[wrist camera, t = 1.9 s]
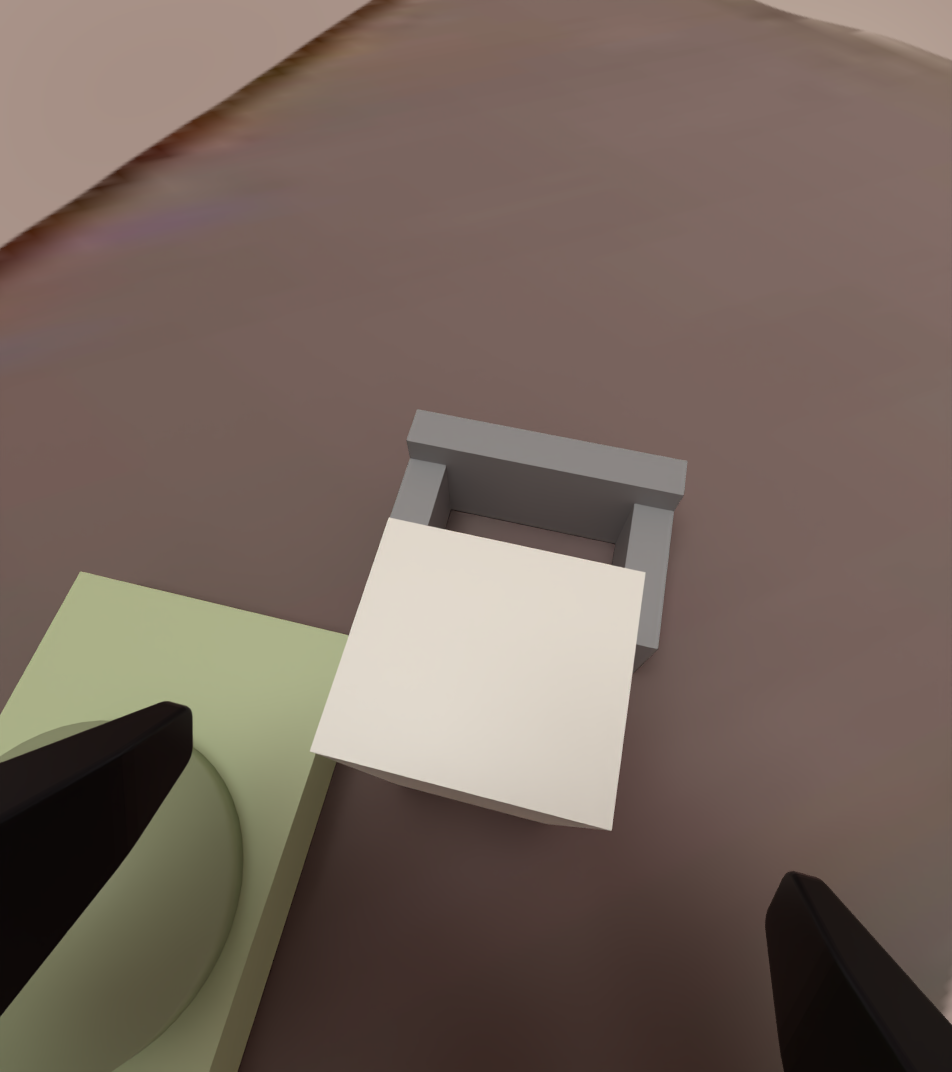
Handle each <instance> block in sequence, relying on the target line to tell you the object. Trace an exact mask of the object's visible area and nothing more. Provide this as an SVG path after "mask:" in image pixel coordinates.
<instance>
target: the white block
mask: <svg viewBox="0 0 952 1072" xmlns="http://www.w3.org/2000/svg"><path fill="white" fill-rule="evenodd" d="M645 573H646V572H641V571H636V570H632V569H627V568H622V567H618V566H613V565H608V564H604V563H599V562H594V561H590V560H585V559H580V558H576V557H571V556H566V555H562V554H557V553H552V552H548V551H543V550H538V549H534V548H529V547H524V546H520V545H515V544H510V543H506V542H501V541H496V540H492V539H487V538H482V537H478V536H473V535H468V534H464V533H459V532H454V531H450V530H445V529H440V528H436V527H431V526H426V525H422V524H417V523H412V522H408V521H403V520H398V519H394V518H389V519H388V522H387V525H386V528H385V530H384V533H383V536H382V539H381V542H380V545H379V548H378V551H377V554H376V557H375V560H374V563H373V566H372V569H371V572H370V575H369V578H368V581H367V584H366V587H365V589H364V592H363V595H362V598H361V601H360V604H359V607H358V610H357V613H356V616H355V619H354V622H353V625H352V628H351V631H350V634H349V637H348V640H347V643H346V645H345V648H344V651H343V654H342V657H341V660H340V663H339V666H338V669H337V672H336V675H335V678H334V681H333V684H332V687H331V690H330V693H329V696H328V699H327V702H326V704H325V707H324V710H323V713H322V716H321V719H320V722H319V725H318V728H317V731H316V734H315V737H314V740H313V743H312V746H311V749H310V752H312V753H315V754H318V755H320V756H323V757H326V758H328V759H331V760H333V761H336V762H339V763H341V764H344V765H347V766H349V767H352V768H355V769H357V770H360V771H362V772H365V773H368V774H370V775H373V776H376V777H378V778H381V779H383V780H386V781H389V782H391V783H394V784H397V785H400V786H404V787H408V788H411V789H415V790H419V791H423V792H426V793H430V794H434V795H438V796H442V797H445V798H449V799H453V800H457V801H460V802H464V803H468V804H472V805H476V806H479V807H483V808H487V809H491V810H494V811H498V812H502V813H506V814H510V815H513V816H517V817H521V818H525V819H528V820H532V821H536V822H540V823H544V824H550V825H560V826H570V827H580V828H589V829H599V830H609V831H612V824H613V816H614V808H615V801H616V793H617V786H618V778H619V770H620V763H621V755H622V748H623V740H624V732H625V725H626V717H627V710H628V702H629V694H630V687H631V679H632V672H633V664H634V656H635V649H636V641H637V634H638V626H639V618H640V611H641V603H642V596H643V588H644V581H645Z"/></svg>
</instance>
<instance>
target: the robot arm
mask: <svg viewBox="0 0 952 1072" xmlns="http://www.w3.org/2000/svg"><path fill="white" fill-rule="evenodd" d="M192 751H193V715H192V711H191V709H190V708H189V707H188V706H185V705H182V704H178V703H174V702H171V701H163V702H159V703H157V704H154V705H151V706H149V707H146V708H144V709H141V710H138V711H136V712H133V713H130V714H128V715H125V716H122V717H120V718H117V719H114V720H112V721H109V722H107V723H104V724H101V725H99V726H96V727H93V728H91V729H88V730H85V731H83V732H80V733H77V734H75V735H72V736H70V737H67V738H64V739H62V740H59V741H56V742H54V743H51V744H48V745H46V746H43V747H41V748H38V749H35V750H33V751H30V752H27V753H25V754H22V755H19V756H17V757H14V758H11V759H9V760H6V761H4V762H1V763H0V1017H1V1016H2V1014H3V1013H4V1012H5V1010H6V1009H7V1008H8V1007H9V1005H10V1004H11V1003H12V1002H13V1000H14V999H15V998H16V997H17V995H18V994H19V993H20V992H21V990H22V989H23V988H24V986H25V985H26V984H27V983H28V981H29V980H30V979H31V978H32V976H33V975H34V974H35V973H36V971H37V970H38V969H39V968H40V966H41V965H42V964H43V962H44V961H45V960H46V959H47V957H48V956H49V955H50V954H51V952H52V951H53V950H54V949H55V947H56V946H57V945H58V944H59V942H60V941H61V940H62V938H63V937H64V936H65V935H66V933H67V932H68V931H69V930H70V928H71V927H72V926H73V925H74V923H75V922H76V921H77V920H78V918H79V917H80V916H81V914H82V913H83V912H84V911H85V909H86V908H87V907H88V906H89V904H90V903H91V902H92V901H93V899H94V898H95V897H96V896H97V894H98V893H99V892H100V890H101V889H102V888H103V887H104V885H105V884H106V883H107V882H108V880H109V879H110V878H111V877H112V875H113V874H114V873H115V871H116V870H117V869H118V868H119V866H120V865H121V864H122V862H123V861H124V860H125V858H126V857H127V856H128V854H129V853H130V851H131V850H132V849H133V847H134V846H135V844H136V843H137V841H138V840H139V838H140V837H141V835H142V834H143V832H144V831H145V829H146V828H147V826H148V825H149V823H150V821H151V820H152V818H153V817H154V815H155V814H156V812H157V811H158V809H159V808H160V806H161V804H162V803H163V801H164V800H165V798H166V797H167V795H168V794H169V792H170V791H171V789H172V788H173V786H174V784H175V783H176V781H177V780H178V778H179V777H180V775H181V774H182V772H183V771H184V769H185V768H186V766H187V764H188V762H189V760H190V758H191V755H192ZM765 930H766V939H767V947H768V956H769V964H770V972H771V981H772V989H773V998H774V1006H775V1015H776V1023H777V1032H778V1039H779V1046H780V1053H781V1059H782V1064H783V1069H784V1072H952V1025H951V1023H950V1022H949V1021H948V1020H947V1019H946V1018H945V1017H944V1016H943V1014H942V1013H941V1012H940V1011H939V1010H938V1009H937V1008H936V1007H935V1006H934V1004H933V1003H932V1002H931V1001H930V1000H929V999H928V998H927V997H926V995H925V994H924V993H923V992H922V991H921V990H920V989H919V988H918V987H917V985H916V984H915V983H914V982H913V981H912V980H911V979H910V978H909V976H908V975H907V974H906V973H905V972H904V971H903V970H902V969H901V967H900V966H899V965H898V964H897V963H896V962H895V961H894V960H893V959H892V957H891V956H890V955H889V954H888V953H887V952H886V951H885V950H884V948H883V947H882V946H881V945H880V944H879V943H878V942H877V941H876V940H875V938H874V937H873V936H872V935H871V934H870V933H869V932H868V931H867V929H866V928H865V927H864V926H863V925H862V924H861V923H860V922H859V921H858V919H857V918H856V917H855V916H854V915H853V914H852V913H851V912H850V910H849V909H848V908H847V907H846V906H845V905H844V904H843V903H842V901H841V900H840V899H839V898H838V897H837V896H836V895H835V894H834V893H833V891H832V890H831V889H830V888H829V887H828V886H827V885H826V884H825V883H824V882H823V881H822V880H821V879H819V878H817V877H814V876H810V875H806V874H803V873H799V872H795V871H789V872H787V873H786V874H785V875H784V877H783V879H782V881H781V883H780V885H779V887H778V889H777V891H776V893H775V895H774V897H773V899H772V902H771V904H770V906H769V908H768V910H767V914H766V920H765Z"/></svg>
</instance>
